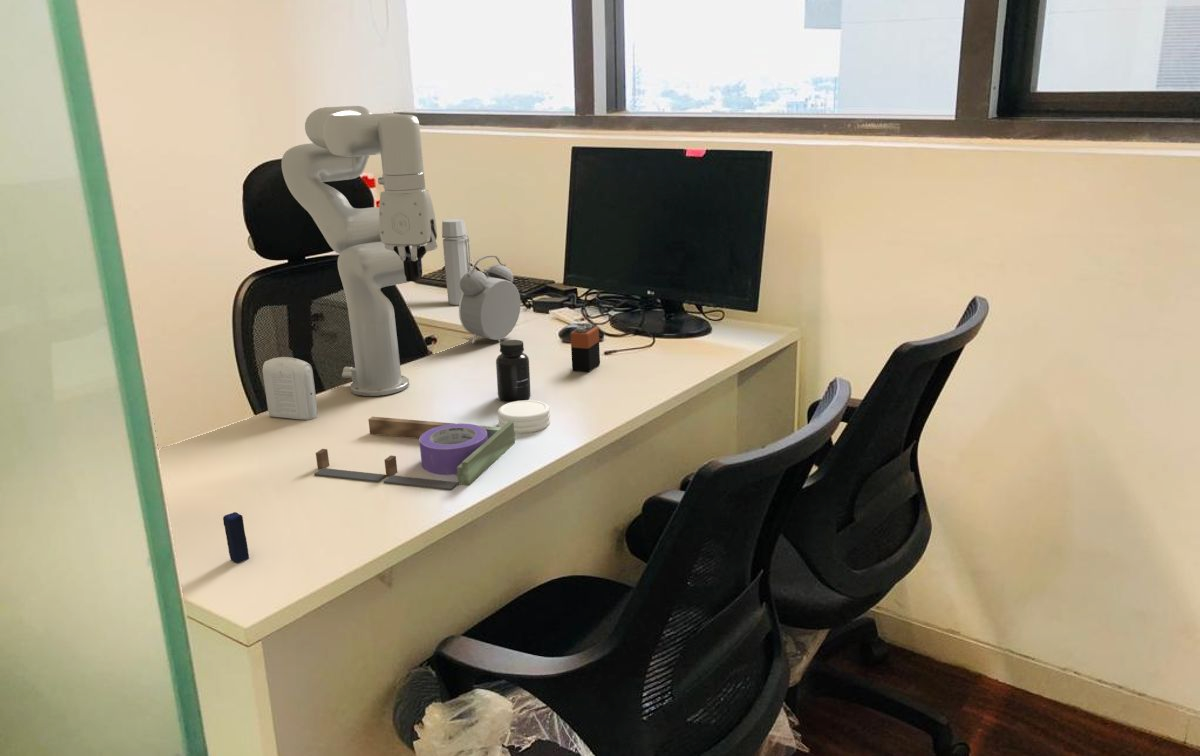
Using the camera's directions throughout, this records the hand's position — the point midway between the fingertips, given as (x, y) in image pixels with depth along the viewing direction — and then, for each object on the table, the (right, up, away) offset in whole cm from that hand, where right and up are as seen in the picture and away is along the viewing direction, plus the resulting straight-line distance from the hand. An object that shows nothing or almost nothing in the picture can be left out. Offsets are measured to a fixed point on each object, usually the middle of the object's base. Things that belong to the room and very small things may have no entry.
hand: (414, 280), depth 177 cm
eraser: (-15, -45, -48) cm, 67 cm away
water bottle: (-6, +3, +101) cm, 101 cm away
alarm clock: (+8, -10, +59) cm, 60 cm away
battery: (+33, -17, +33) cm, 50 cm away
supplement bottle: (+18, -23, +15) cm, 33 cm away
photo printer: (-26, -27, +9) cm, 39 cm away
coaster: (+21, -28, 0) cm, 35 cm away
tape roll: (+11, -34, -16) cm, 39 cm away
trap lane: (+3, -33, -13) cm, 35 cm away
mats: (0, -36, -23) cm, 43 cm away
